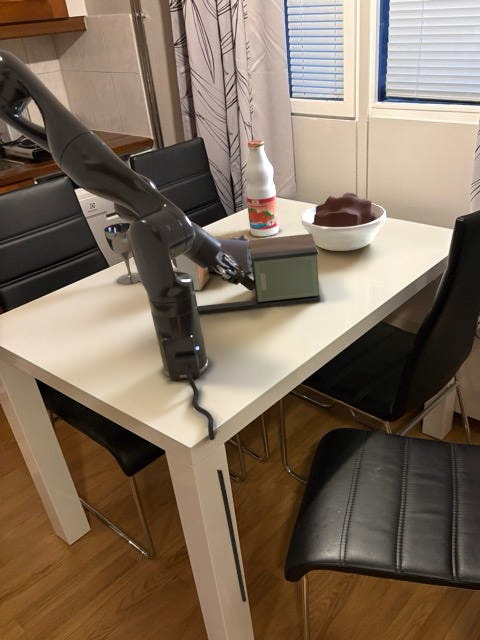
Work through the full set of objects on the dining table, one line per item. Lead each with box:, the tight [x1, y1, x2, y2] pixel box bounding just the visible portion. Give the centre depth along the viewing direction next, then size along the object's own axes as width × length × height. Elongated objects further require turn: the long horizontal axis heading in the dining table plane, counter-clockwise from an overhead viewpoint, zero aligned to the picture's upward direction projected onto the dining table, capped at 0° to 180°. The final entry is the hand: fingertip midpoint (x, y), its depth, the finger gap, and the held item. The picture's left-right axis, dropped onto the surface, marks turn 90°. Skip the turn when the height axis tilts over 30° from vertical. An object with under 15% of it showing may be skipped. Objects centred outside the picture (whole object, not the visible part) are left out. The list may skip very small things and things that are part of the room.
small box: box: [175, 254, 210, 291], centre depth 159 cm, size 8×6×10 cm
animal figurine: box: [229, 233, 249, 241], centre depth 181 cm, size 12×4×5 cm
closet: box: [248, 233, 320, 300], centre depth 150 cm, size 10×16×13 cm, turn 95°
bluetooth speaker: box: [171, 238, 253, 273], centre depth 166 cm, size 23×9×10 cm
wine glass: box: [103, 222, 141, 285], centre depth 164 cm, size 8×8×15 cm
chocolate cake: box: [300, 192, 387, 252], centre depth 174 cm, size 25×25×15 cm
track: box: [197, 246, 321, 315], centre depth 144 cm, size 3×32×13 cm, turn 95°
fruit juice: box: [243, 139, 280, 237], centre depth 185 cm, size 9×9×28 cm
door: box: [254, 255, 319, 302], centre depth 144 cm, size 2×15×11 cm, turn 95°
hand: (254, 287), depth 145 cm, fingers closed
